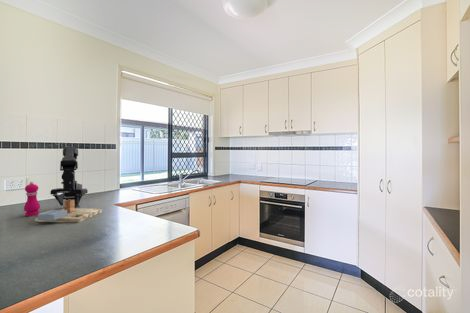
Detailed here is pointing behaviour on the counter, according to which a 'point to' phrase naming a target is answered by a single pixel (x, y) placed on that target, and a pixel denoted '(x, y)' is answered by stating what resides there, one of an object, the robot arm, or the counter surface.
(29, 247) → the counter surface
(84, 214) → the pin board
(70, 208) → the pin
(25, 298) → the counter surface
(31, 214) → the pepper mill
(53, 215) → the block
